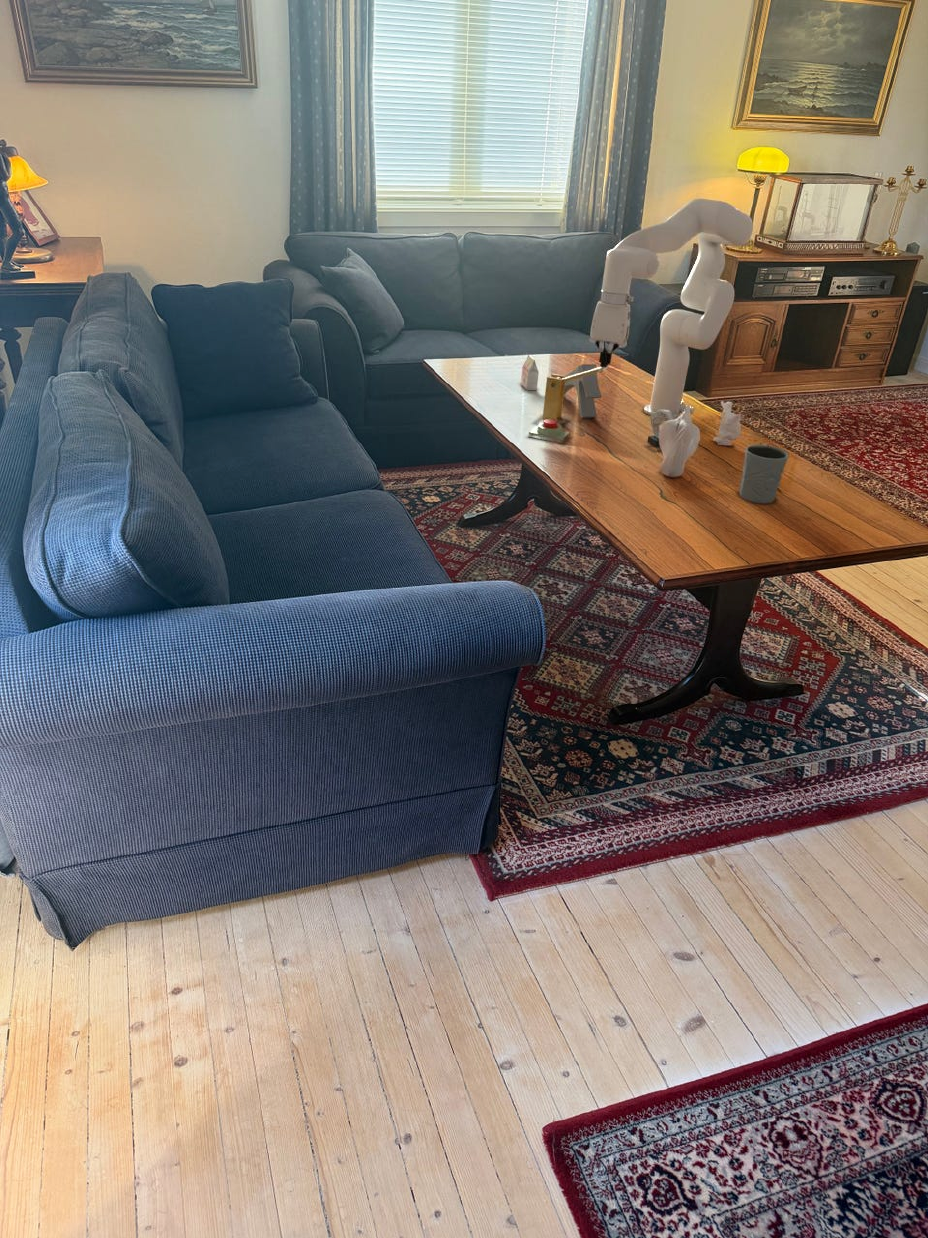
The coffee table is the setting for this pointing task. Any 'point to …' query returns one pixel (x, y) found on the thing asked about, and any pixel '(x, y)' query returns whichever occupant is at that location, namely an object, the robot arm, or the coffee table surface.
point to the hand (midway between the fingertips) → (604, 365)
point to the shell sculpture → (678, 443)
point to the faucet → (585, 390)
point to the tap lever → (584, 374)
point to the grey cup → (762, 473)
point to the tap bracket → (554, 397)
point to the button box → (549, 433)
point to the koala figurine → (728, 426)
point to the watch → (656, 421)
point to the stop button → (550, 424)
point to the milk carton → (529, 374)
